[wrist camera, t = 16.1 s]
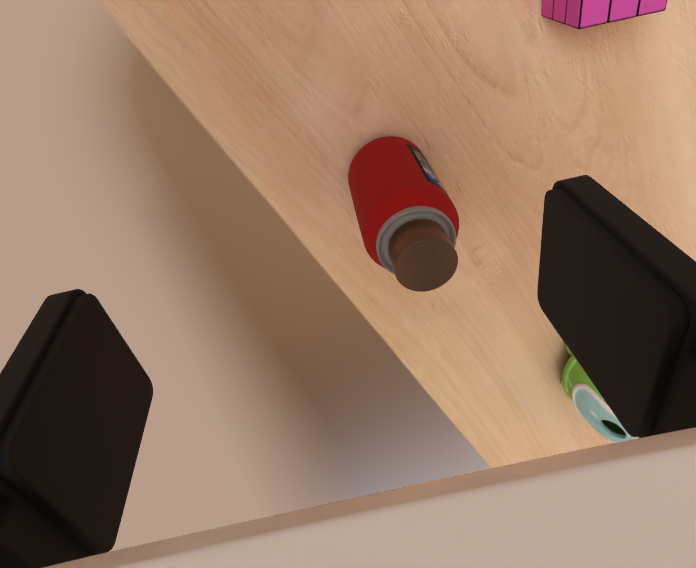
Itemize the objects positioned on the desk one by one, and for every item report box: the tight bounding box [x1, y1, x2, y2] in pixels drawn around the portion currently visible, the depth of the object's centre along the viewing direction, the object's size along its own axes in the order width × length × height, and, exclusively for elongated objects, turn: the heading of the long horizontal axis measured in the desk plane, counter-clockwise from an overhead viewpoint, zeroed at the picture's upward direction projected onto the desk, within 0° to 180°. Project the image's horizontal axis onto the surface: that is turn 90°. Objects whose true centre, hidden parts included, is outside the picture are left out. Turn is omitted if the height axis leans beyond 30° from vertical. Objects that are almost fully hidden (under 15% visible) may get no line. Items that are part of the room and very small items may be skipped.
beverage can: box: [348, 137, 459, 274], centre depth 37 cm, size 7×7×12 cm
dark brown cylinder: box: [388, 219, 458, 292], centre depth 31 cm, size 4×4×2 cm
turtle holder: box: [560, 342, 639, 443], centre depth 55 cm, size 12×18×12 cm
